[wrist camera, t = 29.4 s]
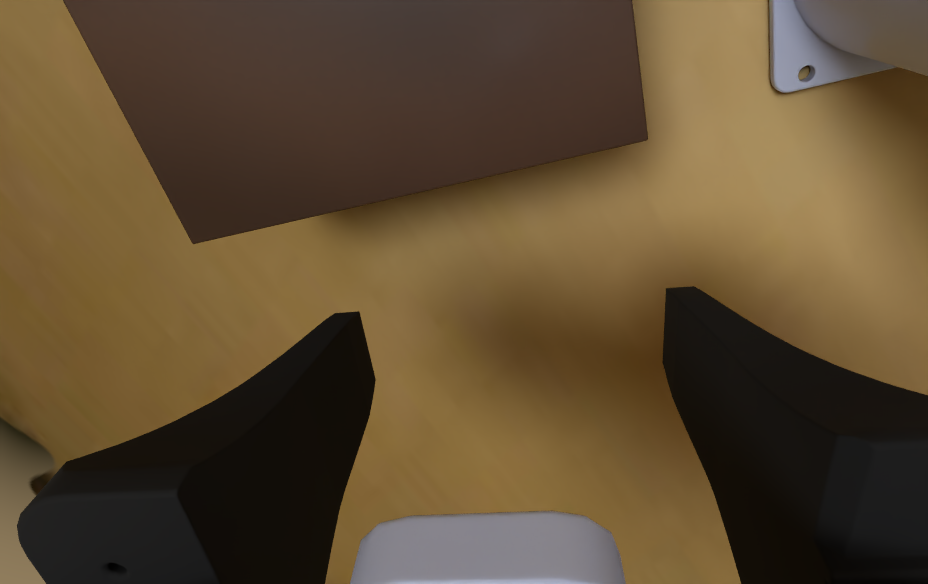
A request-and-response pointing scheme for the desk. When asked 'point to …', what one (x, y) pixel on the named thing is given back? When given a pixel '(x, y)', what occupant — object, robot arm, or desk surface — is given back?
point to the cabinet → (358, 96)
